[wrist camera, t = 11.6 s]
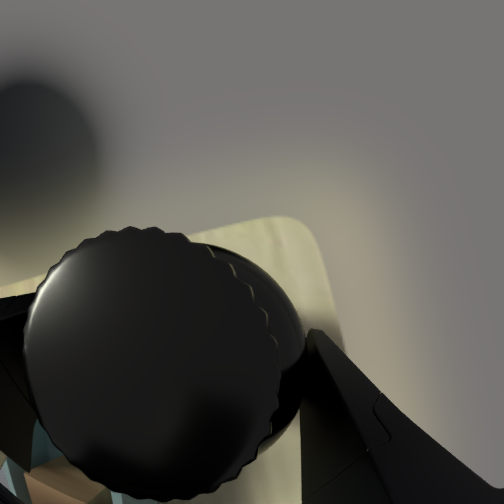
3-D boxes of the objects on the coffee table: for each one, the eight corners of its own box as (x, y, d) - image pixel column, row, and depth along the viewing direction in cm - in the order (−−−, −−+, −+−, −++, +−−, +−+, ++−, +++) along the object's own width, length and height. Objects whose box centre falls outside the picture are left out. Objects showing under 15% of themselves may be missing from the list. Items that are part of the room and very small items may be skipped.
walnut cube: (128, 523, 12) (102, 555, 7) (73, 503, 12) (40, 526, 7) (120, 474, 14) (86, 503, 9) (63, 454, 14) (23, 472, 9)
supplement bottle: (282, 292, 16) (348, 172, 5) (281, 412, 14) (341, 549, 3) (162, 289, 16) (18, 186, 5) (158, 405, 14) (8, 483, 3)
